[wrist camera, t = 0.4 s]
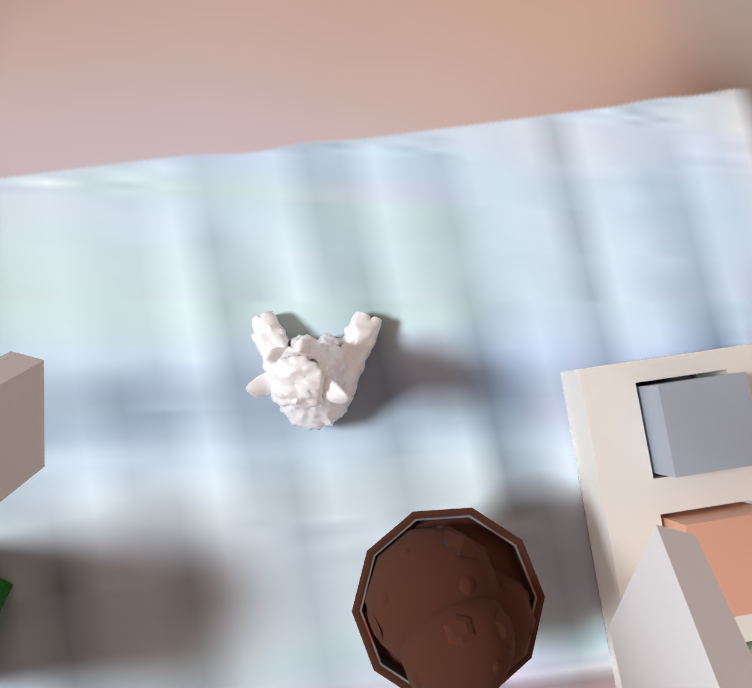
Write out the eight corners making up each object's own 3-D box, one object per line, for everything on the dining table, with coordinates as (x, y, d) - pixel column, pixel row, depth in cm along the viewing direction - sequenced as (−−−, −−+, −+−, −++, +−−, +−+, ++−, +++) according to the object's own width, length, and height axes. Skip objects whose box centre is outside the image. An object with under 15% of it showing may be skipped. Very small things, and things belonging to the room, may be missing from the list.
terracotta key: (749, 586, 44) (794, 606, 40) (667, 600, 44) (703, 622, 39) (732, 500, 45) (775, 510, 40) (651, 513, 44) (685, 525, 40)
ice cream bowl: (533, 571, 46) (623, 648, 31) (416, 675, 44) (449, 808, 30) (440, 457, 46) (483, 478, 31) (322, 557, 45) (308, 629, 30)
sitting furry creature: (381, 313, 47) (391, 280, 35) (382, 429, 46) (393, 435, 34) (254, 314, 47) (221, 280, 35) (253, 430, 46) (218, 436, 34)
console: (815, 723, 45) (868, 758, 41) (628, 757, 44) (660, 797, 40) (738, 346, 48) (778, 339, 43) (560, 372, 47) (582, 368, 43)
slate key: (723, 458, 45) (764, 463, 40) (643, 470, 45) (675, 477, 40) (707, 375, 46) (746, 371, 41) (627, 387, 45) (658, 384, 41)
